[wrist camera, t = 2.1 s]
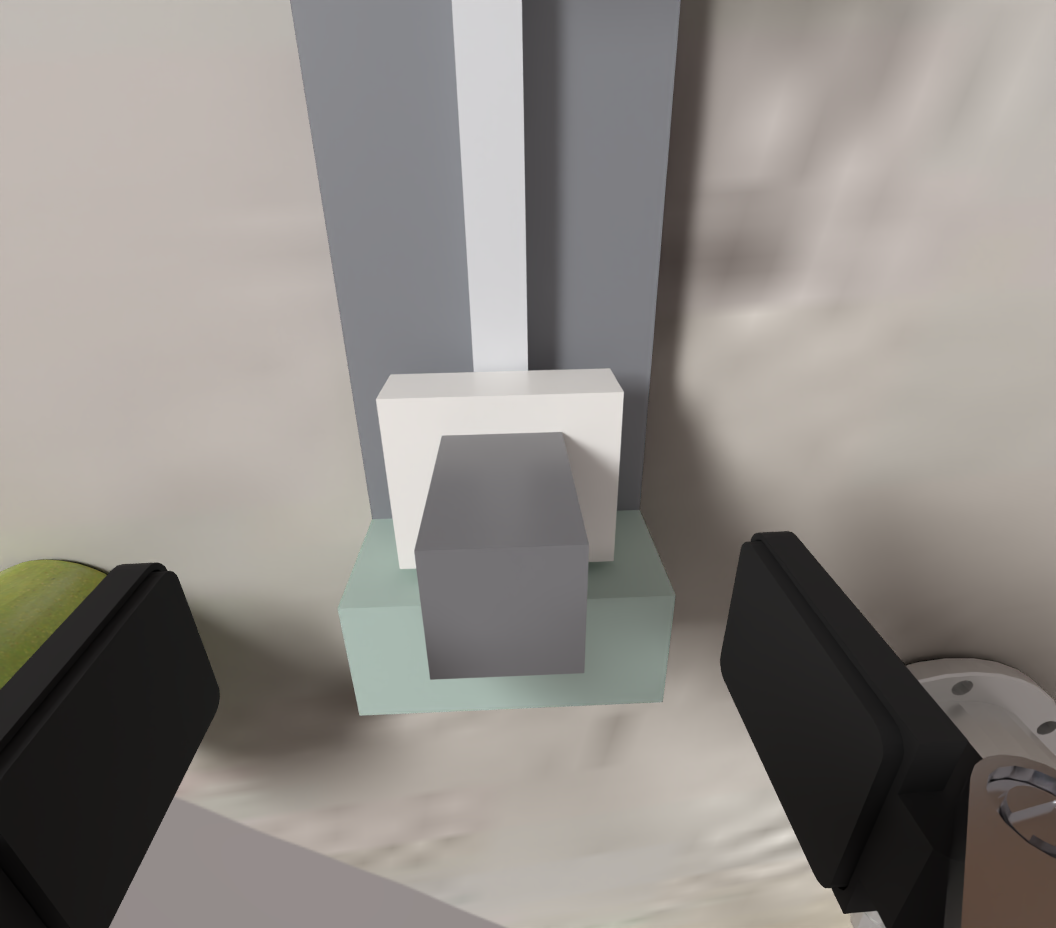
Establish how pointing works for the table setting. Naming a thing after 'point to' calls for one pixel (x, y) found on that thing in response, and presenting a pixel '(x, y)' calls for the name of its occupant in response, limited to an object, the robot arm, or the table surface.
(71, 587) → the plant pot
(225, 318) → the table surface
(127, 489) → the table surface
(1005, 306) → the table surface
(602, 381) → the carriage
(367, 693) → the rail track
